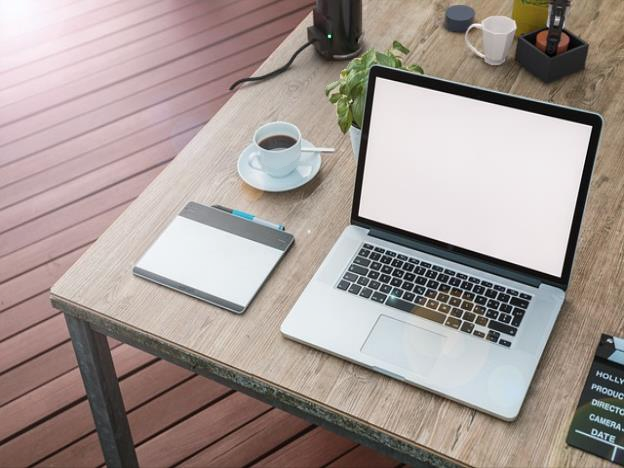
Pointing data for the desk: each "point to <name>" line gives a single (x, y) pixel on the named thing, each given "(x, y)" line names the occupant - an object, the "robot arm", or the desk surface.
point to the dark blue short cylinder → (459, 18)
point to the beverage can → (529, 15)
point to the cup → (495, 38)
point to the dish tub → (553, 66)
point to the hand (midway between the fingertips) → (551, 45)
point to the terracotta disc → (542, 42)
